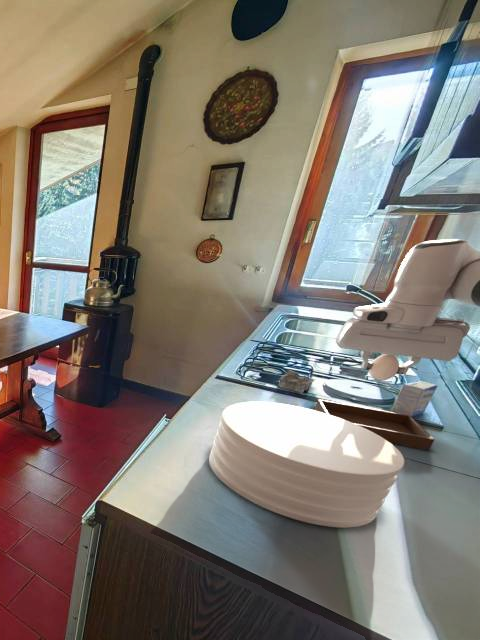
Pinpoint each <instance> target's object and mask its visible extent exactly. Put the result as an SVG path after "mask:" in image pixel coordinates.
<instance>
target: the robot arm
mask: <svg viewBox="0 0 480 640" xmlns="http://www.w3.org/2000/svg"><path fill="white" fill-rule="evenodd" d="M447 300H449V301H453V302H456V303H457V302H458V303H461V304H465V305H470V306H473V307H478V308H480V251H478V250H476V249H475V248H473V247H472V246H470V244H469V243H468V241H467V240H465V239H459V238H445V239H433V240H427V241H423V242H420V243H417V244H416V245H415V246H412V248H411V249H410V250H409V252H407V254H406V255H405V258H404V259H403V261H402V262H401V265H400V267H399V269H398V270H397V273H396V276H395V278H394V281H393V288H392V290H391V292H390V293H389V294H388V295H387V297H386V299H385V301H384V302H383V303H378V304H371V305H370V304H369V305H363V306H358V307H355V308H354V309H353V311H352V315H353V317H350V318H348V319H347V320H346V321H345V322H344V323H343V324H342V327H341V329H340V330H339V332H338V334H337V336H336V339H335V344H336V345H337V346H338V347H339V348H340V349H345V350H352V351H359V354H360V357H361V359H362V362H361V365H360V368H361V369H362V370H368V371H369V370H371V367H372V366H373V363H372V362H373V361H370V360H369V359H368V358H369V357H371V356H372V354H373V353H377V354H392V355H394V356H402V357H407V361H405V362H404V363H403V364H399V369H398V372H397V373H396V375H397V374H398V375H403V376H404V375H405V376H406V375H407V373H408V371H409V369H411V368H413V367H414V366H416V365H418V364H419V363H420V362H421V359H428V360H434V361H444V362H451V361H453V360H454V359H456V358H457V357H458V355H459V352H460V350H461V348H462V347H461V346H462V344H463V340H464V338H465V337H466V336H467V335H468V334H469V332H470V330H471V325H470V324H469V323H468V322H466V321H465V320H464V319H461V318H449V317H448V318H447V317H439V316H438V315H439V314H440V312H441V310H442V307H443V306H444V303H445V301H447Z"/></svg>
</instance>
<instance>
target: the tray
mask: <svg viewBox="0 0 480 640" xmlns="http://www.w3.org/2000/svg"><path fill="white" fill-rule="evenodd" d="M314 410H315V411H319V412H322V413H326V414H329V415H332V416H335V417H338V418H341V419H344V420H346V421H349V422H352V423H354V424H356V425H359V426H361V427H363V428H365V429H367V430H369V431H371V432H373V433H375V434H377V435H379V436H380V437H382V438H384V439H385V440H387V441H388V442H390V443H391V444H396V445H400V446H406V447H410V448H415V449H421V450H426V451H429V450H430V449H431V447H432V446H433V444H434V442H435V438H434V437H433V436H432V435H431V434H430V433H429V432H428V431H427V430H426V429H425V428H424V427H423V426H422V425H421V424H420V423H419V422H417V420H416V419H415V418H414V417H411V416H410V415H405V414H399V413H395V412H392V411H387V410H383V409H375V408H371V407H364V406H360V405H353V404H347V403H341V402H336V401H330V400H326V399H325V400H324V399H320V398H319V399H317V401H316V404H315V406H314Z"/></svg>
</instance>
